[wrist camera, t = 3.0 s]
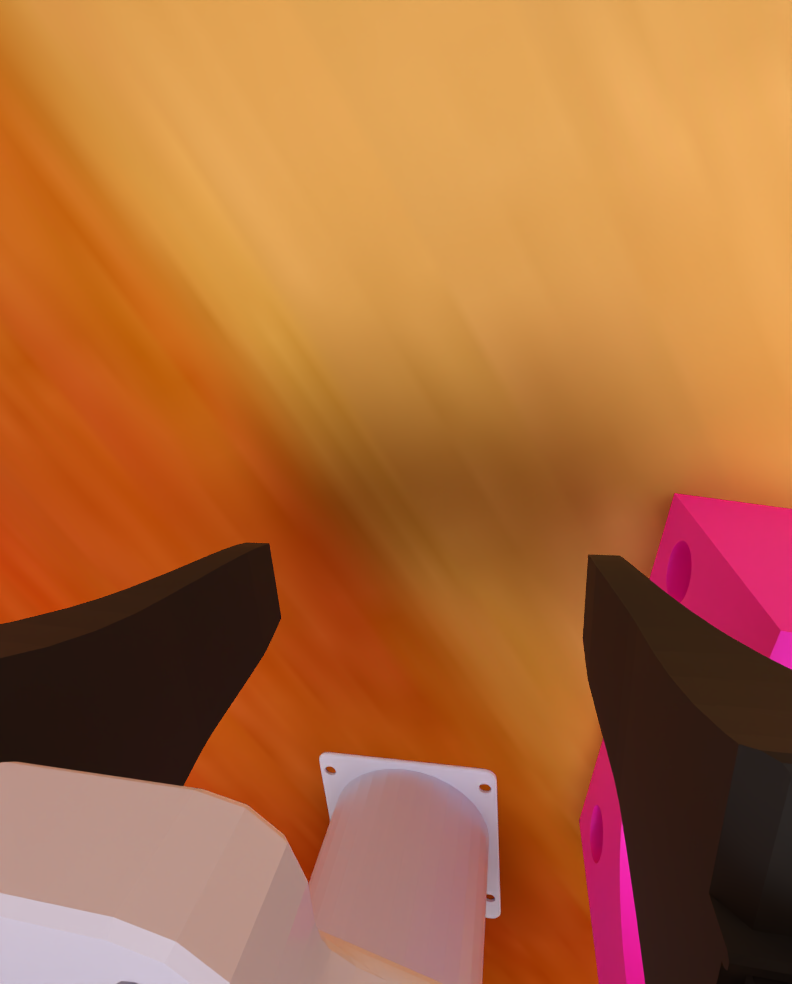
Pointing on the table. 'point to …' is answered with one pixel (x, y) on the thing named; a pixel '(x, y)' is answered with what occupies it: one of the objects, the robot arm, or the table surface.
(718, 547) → the toy block
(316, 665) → the table surface
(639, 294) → the table surface
